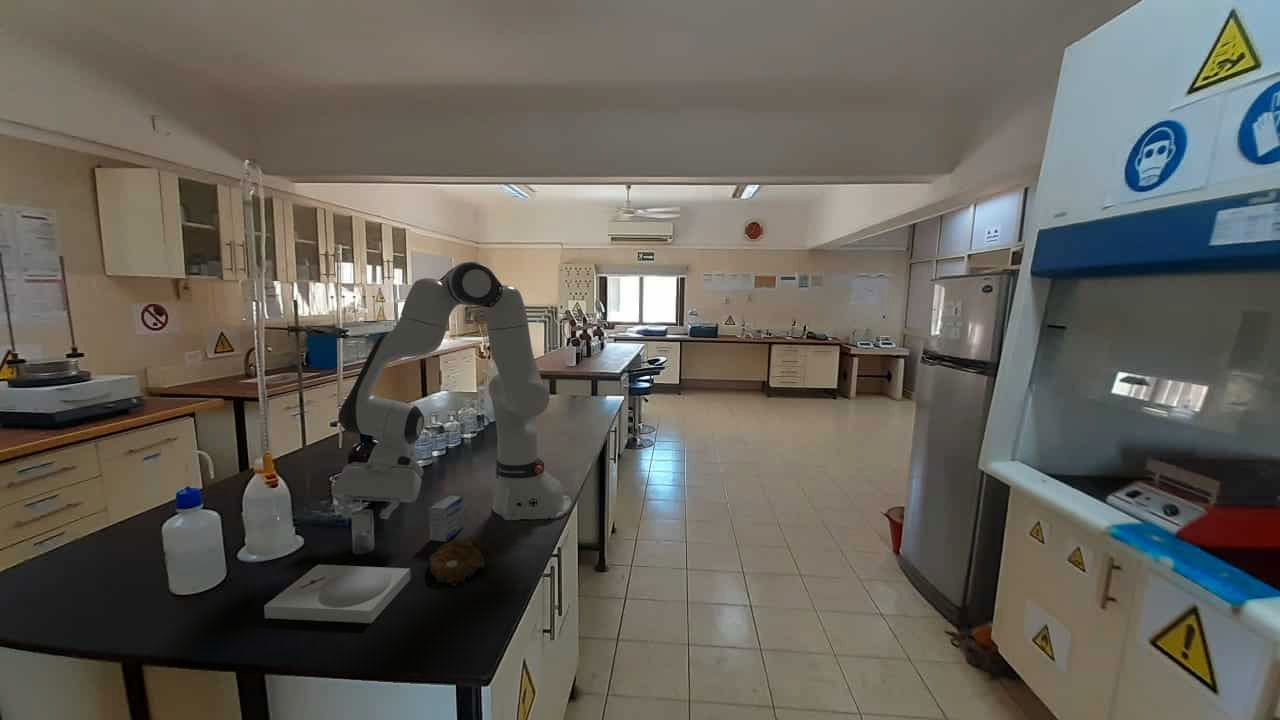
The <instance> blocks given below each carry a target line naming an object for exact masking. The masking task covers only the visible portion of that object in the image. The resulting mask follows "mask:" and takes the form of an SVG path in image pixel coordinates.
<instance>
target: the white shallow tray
mask: <svg viewBox="0 0 1280 720" xmlns="http://www.w3.org/2000/svg"><path fill="white" fill-rule="evenodd" d="M410 580H411V568H404V567H403V568H402V567H384V566H383V567H380V566H379V567H377V566H360V565H359V566H358V565H356V566H355V565H339V564H337V565H336V564H317V565H316V566H314V567H313V568H311V569H310V570H308V571H307V572H306V573H305V574H304V575H302V576H301V577H300V578H299V579H298V580H296V581H295V582H293V583H292V584H291V585H289V586H288V587H287V588H285V589H284V590H283V591H282V592H280V593H279V594H278V595H276V596H275V597H273V599H271V600H269V601H268V602H267V603H266V604H265V605H263V608H264V610H263V611H264V612H263V613H264V619H278V620H279V619H281V620H301V621H317V622H319V621H320V622H341V623H362V624H372V623H374V621H375V620H376V618H377V617H379V615H380V614H381V613H382V612H383V611H384V609H386V608H387V606H388V605H389V604H390V603H391V602H392V600H394V599H395V598H396V596H398V594H399V593H400V592H401V591H402V590H403V588H405V586H406V585H407V584H408V582H409V581H410Z"/></svg>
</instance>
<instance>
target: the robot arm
mask: <svg viewBox="0 0 1280 720" xmlns="http://www.w3.org/2000/svg"><path fill="white" fill-rule="evenodd" d="M459 305H464V306H477V307H479V308H480V309H481V310H482V311H483V314H484V317H485V321H486V322H485V323H486V329H487V336H488V342H489V348H490V349H489V350H490V356H491V358H492V360H493V362H494V364H495V368H496V369H497V372H498V373H497V374H495V375H494V376H493V377H492V378H491V380H490V381H489V385H488V394H489V397H490V399H491V403H492V411H493V417H494V421H495V427H496V434H497V459H496V462H495V463H496V465H495V476H496V490H495V496H494V501H493V503H492V505H491V506H492V507H491V509H492V511H493V512H494V513H495V514H497V515H499V516H501V517H502V518H503V520H505V521H523V520H522V519H524V520H525V519H528V520H549V519H548V518H550V519H560V518H562V517H564V516H565V515H566V514H567V513H569V511H570V510H571V507H572V499H571V498H570V496H569V495H565V494H564V488H563V485H562V483H561V482H560V480H558V479H556V478H555V477H554V476H553V475H551V474H549V473H548V472H547V471H545V463H546V462H545V460H546V459H543V460H542V459H540V458H539V457H538V432H537V428H536V425H535V423H534V419H533V418H534V417H538V416H540V415H542V414H543V413H544V412H545V411H546V410H547V409H548V406H549V404H550V393H549V390H548V389H547V387H546V385H545V384H544V382H543V380H542V376H541V374H540V371H539V367H538V365H537V362H536V359H535V355H534V352H533V348H532V340H531V334H530V329H529V327H530V326H529V320H528V315H527V311H526V307H525V303H524V299H523V297H522V294H521V292H520V291H519V290H518V288H517V287H514V286H512V285H508V284H506V285H505V284H504V285H502V283H501V282H500V281H499V279H498V278H497V276H496V275H495V274H494V273H493V271H492V270H491V269H490V268H489V267H488V266H486V265H484V264H483V263H480V262H477V261H468V262H467V261H466V262H462V263H458V264H457V265H455V266H454V267H453V268H451V269H450V270H448V272H447V273H446V274H444V275H443V276H442V277H441V278H440V279H435V278H430V277H429V278H428V277H426V278H425V277H424V278H420V279H417V280H415V282H414V283H413V284H412V286H411V288H410V290H409V291H408V293H407V296H406V299H405V301H404V304H403V306H402V309H401V313H400V317H399V319H398V322H397V323H396V325H395V327H393V329H392V330H390V331H389V332H385V333H383V334H381V335H380V336H379V337H378V339H377V340H376V341H375V343H374V345H373V346H372V348H371V350H370V353H369V354H368V356H367V358H366V360H365V361H364V364H363V366H362V368H361V370H360V372H359V374H358V377H357V379H356V380H355V381H354V382H355V383H354V385H353V387H352V389H351V390H350V392H349V394H348V395H347V397H346V399H345V401H344V402H343V403H342V405H341V407H340V409H339V412H338V418H337V421H338V422H339V424H340V426H341V427H342V428H343V429H344V431H345V432H347V433H348V434H355V435H356V434H357V435H365V436H366V435H368V436H372V437H377V438H379V440H378V442H377V443H376V444H375V446H374V447H373V448H372V452H371V453H370V456H369V458H368V461H367V462H358V461H353V462H351V463H348V464H347V465H345V466H344V467H343V469H342V471H341V473H340V474H339V475H338V477H337V479H336V480H335V482H334V484H333V486H332V487H331V493H332V496H334V497H336V498H337V499H339V500H341V501H342V503H341V504H342V510H341V511H340V515H341V516H342V517H345V518H347V517H349V518H350V517H351V515H352V513H353V511H354V510H353V509H352V508H351V507H350V504H352V503H353V501H354V500H356V501H357V500H360V501H375V502H376V501H377V502H389V503H390V504H389V505H388V506H386V508H383V509H381V512H380V514H379V518H381V519H382V520H383V519H384V520H389V518H390V516H391V513H393V512H394V511H395V510H396V509H397V508H398V507H399V506H400V503H409V504H411V503H413V502H414V501H416V500H417V499H418V496H419V493H420V491H421V486H422V478H421V477H422V476H423V474H424V469H423V468H422V466H421V464H420V463H419V462H418V461H417V460H416V459H415V458H412V457H411V456H410V455H411V450H412V449H413V447H414V446H415V444H416V443H417V441H418V440H419V439H420V436H421V434H422V431H423V428H424V424H425V416H424V414H423V413H422V411H421V409H420V407H418V406H417V405H415V404H412V403H410V402H409V403H408V402H405V401H399V400H394V399H389V398H384V397H379V396H377V395H375V394H374V390H375V388H376V386H377V384H378V381H379V380H380V378H381V375H382V373H383V371H384V370H385V367H386V366H387V365H388V364H389V363H390V362H391V361H394V360H397V359H403V358H414V357H422V356H425V355H428V354H432V353H433V352H435V351H436V350H437V349H439V348H440V346H441V345H442V343H443V341H444V339H445V335H446V332H447V328H448V324H449V319H450V316H451V314H452V312H453V310H454V309H455V308H456V307H457V306H459ZM565 513H566V514H565ZM564 514H565V515H564ZM563 515H564V516H563ZM561 516H562V517H561ZM559 517H560V518H559ZM520 519H521V520H520Z"/></svg>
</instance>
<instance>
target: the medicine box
mask: <svg viewBox="0 0 1280 720" xmlns="http://www.w3.org/2000/svg"><path fill="white" fill-rule="evenodd" d="M463 505H464V504H463V497H462V496H456V495H447V496H445V497H444V498H443V499H441V500H439V501H437V502H436V503H435V504H433V505H431V506H430V507H429V508H428V514H429V515H428V516H429V518H428V519H429V540H430V541H434V542H436V541H437V542H441V543H442V542H444V543H447V542H449V540H450V539H451V538H452V537H454V536H455V535H456V534H457V533H459V532H460V531H461V530H462V529H463V528H464V513H463V512H464V509H463V508H464V506H463Z"/></svg>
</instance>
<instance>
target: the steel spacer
mask: <svg viewBox="0 0 1280 720" xmlns="http://www.w3.org/2000/svg"><path fill="white" fill-rule="evenodd" d="M350 517H351V535H352V536H351V537H352V540H351V541H352V553H353V555H365V554H367V553H370V552H372V551H374V549H375V530H374V529H375V528H374V527H375V525H374V510H372V509H370V508H369V509H368V508H367V509H365V508H364V509H359V510H356V511H354V512H352V513H351V516H350Z"/></svg>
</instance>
